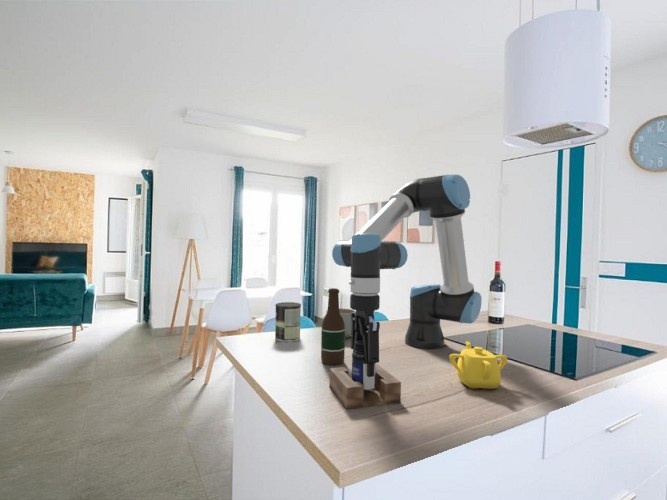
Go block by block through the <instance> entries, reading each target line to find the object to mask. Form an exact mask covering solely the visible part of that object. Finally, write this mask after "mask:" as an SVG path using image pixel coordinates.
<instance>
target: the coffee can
mask: <svg viewBox="0 0 667 500" xmlns="http://www.w3.org/2000/svg"><path fill="white" fill-rule="evenodd" d="M274 305H275V322H274V323H275V325H274V326H275V329H274V330H275V331H274V332H275V334H274V335H275V336H274V337H275V338H274V340H276V341H277V342H281V343H282V342H283V343H289V342H297V341H299V340H301V311H302V310H301V307H302V304H301V303H299V302H293V301H292V302H291V301H290V302H289V301H287V302H286V301H285V302H277V303H275V304H274Z"/></svg>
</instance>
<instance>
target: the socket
mask: <svg viewBox="0 0 667 500" xmlns="http://www.w3.org/2000/svg"><path fill="white" fill-rule="evenodd" d="M329 389H330V390H331V391H332V392H333V394H334V395H335V396H336V398H337V399H338V400H339V401H340V403H341V404H342V405H343V407H344V408H345V409H346V410H350V409H351V410H352V409H359V408H367V407H374V406H375V407H376V406H382V405H383V406H384V405H391V404H399V403H402V402H401V401H402V400H401V396H402V395H401V393H402V391H401V390H402V381H400V380H399V379H398V378H396V377H395V376H394V375H392V374H391V373H390V372H388V370H386V369H385V368H383V367H382V366H380V365H379V363H376V374H375V386H374V389H365V390H364V386H363V385H362V384H361V383H360V382H354V381H353V380H352V377H350V376H349V370H348V369H347V368H346V367H345V366H342V367H331V368H329Z"/></svg>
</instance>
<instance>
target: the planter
mask: <svg viewBox="0 0 667 500" xmlns="http://www.w3.org/2000/svg"><path fill="white" fill-rule="evenodd" d="M325 311H326V312H325V313H326V314H327V310H325ZM339 311H340V315H341V316H342V318H343V321H344V324H345V339H348V338H351V327H352V319H351V313H356V310H353V309H351V308H342V307H341V308H340V307H339ZM326 314H325V315H326Z"/></svg>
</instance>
